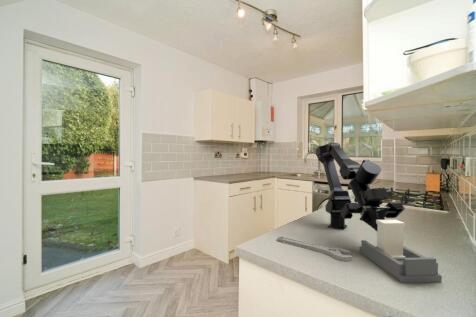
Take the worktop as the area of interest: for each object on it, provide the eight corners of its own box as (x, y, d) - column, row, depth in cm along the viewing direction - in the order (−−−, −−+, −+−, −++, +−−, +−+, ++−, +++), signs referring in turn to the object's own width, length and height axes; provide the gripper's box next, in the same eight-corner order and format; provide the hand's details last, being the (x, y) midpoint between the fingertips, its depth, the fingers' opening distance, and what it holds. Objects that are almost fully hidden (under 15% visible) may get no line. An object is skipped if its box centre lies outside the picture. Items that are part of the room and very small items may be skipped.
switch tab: (374, 252, 69) (374, 219, 69) (393, 251, 69) (393, 218, 69) (385, 259, 64) (386, 224, 64) (406, 259, 64) (406, 223, 64)
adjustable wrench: (275, 242, 83) (275, 237, 83) (285, 237, 88) (285, 232, 88) (348, 264, 66) (348, 258, 66) (355, 257, 71) (355, 251, 71)
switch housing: (359, 251, 74) (359, 234, 73) (389, 250, 74) (389, 233, 74) (402, 282, 56) (402, 260, 55) (441, 281, 56) (441, 259, 56)
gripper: (344, 178, 74) (365, 222, 63) (400, 177, 75) (430, 220, 64) (333, 198, 82) (350, 240, 71) (384, 197, 83) (408, 238, 72)
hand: (383, 234), depth 69 cm, fingers closed
